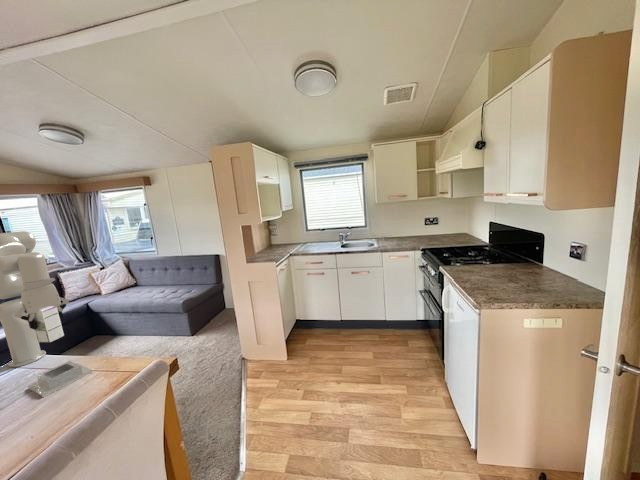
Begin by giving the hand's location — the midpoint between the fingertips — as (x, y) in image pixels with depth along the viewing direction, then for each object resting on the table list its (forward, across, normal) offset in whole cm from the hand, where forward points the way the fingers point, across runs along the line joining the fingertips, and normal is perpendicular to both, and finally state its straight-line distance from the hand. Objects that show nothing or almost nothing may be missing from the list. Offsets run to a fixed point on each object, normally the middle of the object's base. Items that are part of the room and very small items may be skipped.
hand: (47, 324), depth 106 cm
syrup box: (+7, 0, 0) cm, 7 cm away
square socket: (+26, 0, 0) cm, 26 cm away
